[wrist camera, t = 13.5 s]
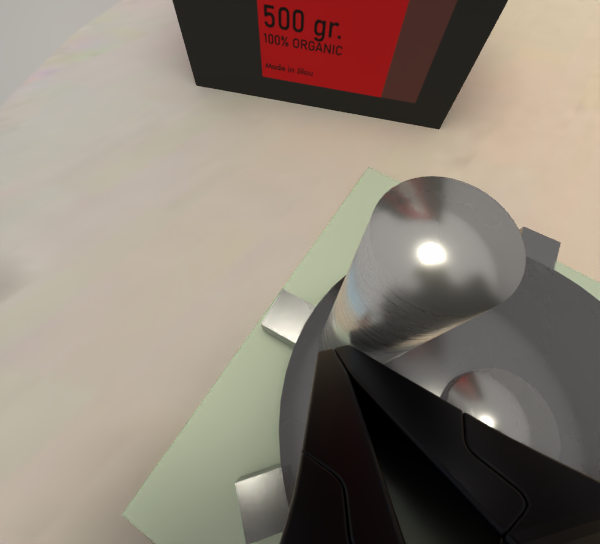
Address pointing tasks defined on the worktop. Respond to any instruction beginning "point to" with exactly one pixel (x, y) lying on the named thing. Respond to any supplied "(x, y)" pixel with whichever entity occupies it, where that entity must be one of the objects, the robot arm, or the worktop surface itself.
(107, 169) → the worktop surface
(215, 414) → the mount plate
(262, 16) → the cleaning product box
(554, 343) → the sprocket
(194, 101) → the worktop surface
